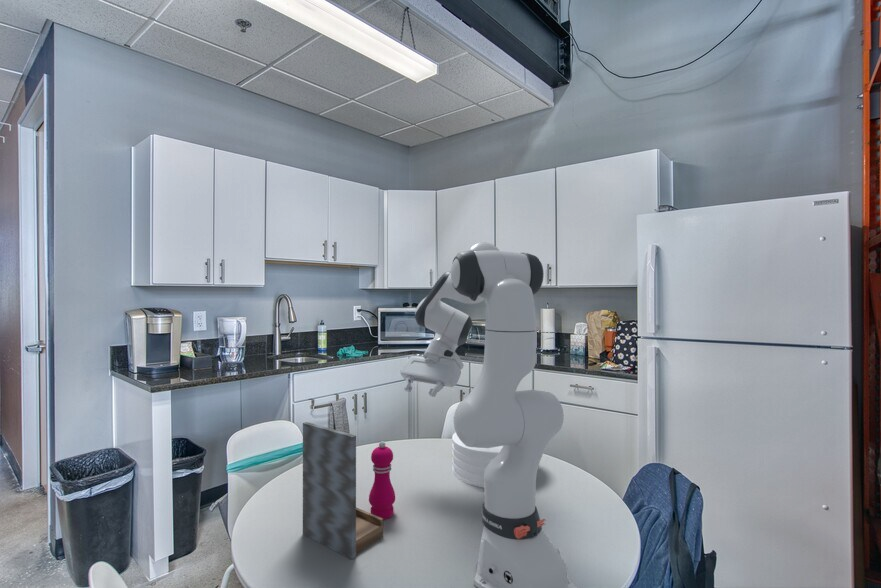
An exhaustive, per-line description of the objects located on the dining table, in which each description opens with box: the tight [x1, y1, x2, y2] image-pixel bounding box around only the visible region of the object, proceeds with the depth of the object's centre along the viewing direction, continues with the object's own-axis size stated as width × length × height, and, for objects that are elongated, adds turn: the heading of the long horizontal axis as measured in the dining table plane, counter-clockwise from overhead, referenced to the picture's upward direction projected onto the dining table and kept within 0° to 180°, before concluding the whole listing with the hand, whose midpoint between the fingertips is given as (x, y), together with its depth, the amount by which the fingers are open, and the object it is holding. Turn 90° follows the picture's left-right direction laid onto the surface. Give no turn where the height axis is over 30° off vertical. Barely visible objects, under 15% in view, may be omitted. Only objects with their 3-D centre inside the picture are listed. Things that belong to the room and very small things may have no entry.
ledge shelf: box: [302, 421, 384, 560], centre depth 111 cm, size 18×11×28 cm, turn 54°
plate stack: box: [451, 431, 503, 489], centre depth 152 cm, size 28×28×12 cm
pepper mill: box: [368, 440, 396, 520], centre depth 122 cm, size 7×7×20 cm
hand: (418, 393), depth 136 cm, fingers open, 8 cm apart
